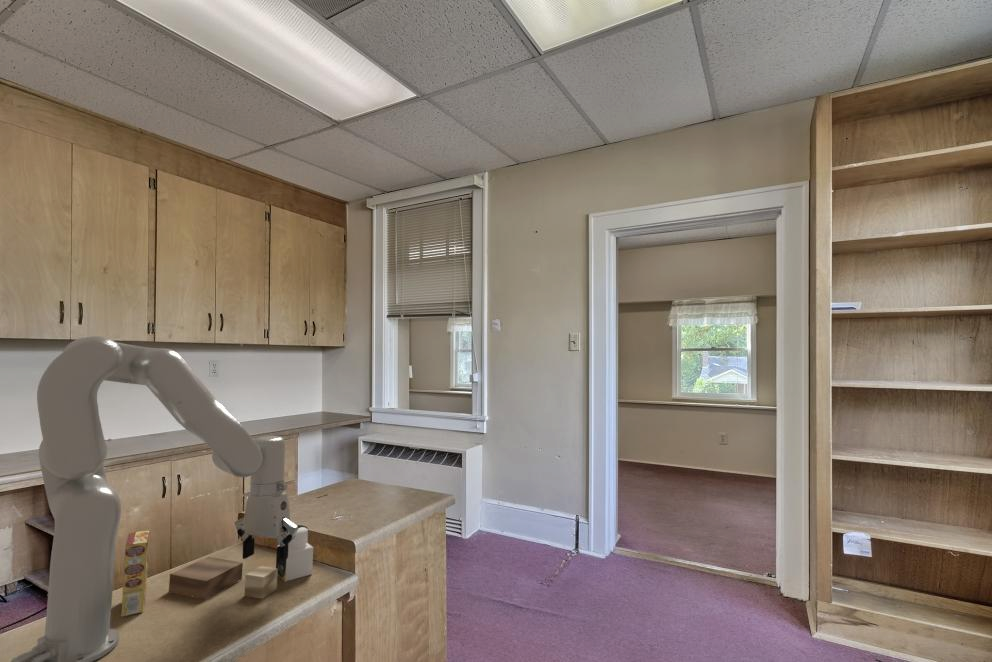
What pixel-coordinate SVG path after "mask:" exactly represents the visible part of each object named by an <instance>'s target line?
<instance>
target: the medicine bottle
mask: <svg viewBox="0 0 992 662" xmlns="http://www.w3.org/2000/svg"><path fill="white" fill-rule="evenodd" d="M295 525H296V526H298V531H297V533H296V534H295V537H294V538H293V539H292V540H291V542H290V543H288V558H287V559H286V560H285V561H283V562H282V563H280V564H279V563H277V554H276V558H275V568H277V569H278V573H277V576H278V577H279V578H281V580H282V581H284V582H290V581H293V580H297V579H300V578H304V577H307V576H310V575H312V574H313V562H314V559H313V558H314V546H312V544H309V543H308V539H309V528H308V526H305V525H303V524H295ZM287 534H289V531H288V532H287ZM282 539H283V540H284V538H283V537H282ZM278 546H280V545H279V544H278V545H277V546H276V548H277V547H278Z"/></svg>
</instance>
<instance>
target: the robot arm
mask: <svg viewBox="0 0 992 662" xmlns="http://www.w3.org/2000/svg"><path fill="white" fill-rule="evenodd" d="M104 381H106V382H116V383H122V384H130V385H138V386H139V385H142V386H146V387H147V388H148V389H149V390H150V391H151V393H152V394H153V396H155V397H156V398H157V399H158V401H159V402H160V403H161V404H162V405H163V406H164V408H165V409H166V411H168V412H169V413H170V415H171V416H172V417H173V418H174V420H175V421H176V422H177V423H178V424H179V425H181V427H182V428H183V429H185V430H186V431H187V432H189V433H191V434H192V435H195V436H196V437H198V438H199V439H200V440H201V441H202V442H203V443H205V444H206V445H207V446H208V447H209V448H210V449H211V450H212V451H213V452H212V453H211V454H212V455H211V458H212V463H213V464H214V466H216V467H217V468H218V469H219V470H221V471H223V472H225V473H228V474H230V475H232V476H234V477H237V478H248V477H250V484H249V485H250V486H249V487H250V489H249V494H248V495H247V499H246V501H245V502H246V503H245V510H244V516H243V517H242V518H239V519H237V520H235V521H234V526H235V528H236V530H237V531H236V533H237V535H239V537H240V541H241V542H242V559H243V560H245V559H247V558H250V557H251V556H253V555H254V554H255V540H256V539H255V537H260V538H261V537H262V538H270V539H275V541H276V542H277V544H278V545H280V546H278V545H277V546H278V547H277V546H276V555H277V563H279V564H280V563H282V562H283V561H285V560H286V559H287V558H288V543H290V542H291V540H292V539H293V538H294V537H295V534H296V533H297V531H298V526H296V525H297V524H295V523H294V522H292V521H291V514H290V513H291V512H290V502H289V497H288V493H287V490H288V489H287V488H288V484H285V461H286V458H285V457H286V440H285V439H284V437H282V436H278V435H267V436H260V437H257V438H253V437H252V436H251V435H250V433H249V432H248V431H247V430H246V428H245V427H244V426H243V425H242V424H241V423H240V422H239V421H238V420H237V419H236V418H235V417H234V416H233V415H232V414H231V412H229V411H228V410H227V409H226V407H225V406H223V404H222V403H221V402H219V400H217V398H216V397H215V396H214V395H213V394H212V393H211V391H210V390H209V389H208V387H207V386H206V385H205V384H204V383H203V381H202V380H201V379H200V378H199V375H197V374H196V373H195V371H194V370H193V368H192V367H191V366H190V365H189V364H188V363H187V361H186V360H185V359H184V357H182V355H180V354H179V353H178V352H176V351H175V350H173V349H169V348H165V347H164V348H163V347H162V348H160V347H159V348H157V347H156V348H155V347H146V346H140V345H133V344H128V343H122V342H118V341H114V340H112V339H110V338H107V337H104V336H87V337H80V338H76V339H75V340H73V341H72V342H70V343H68V344H67V345H66V346H65V348H64V349H63V351H62V352H61V353H60V354H58V355H57V357H55V358H54V360H52V362H51V363H50V364H49V365H48V367H47V368H46V369H45V371H44V372H43V374H42V376H41V377H40V379H39V382H38V387H37V392H36V402H37V410H38V418H39V425H40V430H41V436H42V440H41V443H40V444H39V447H38V459H39V465H40V469H41V474H42V480H43V483H44V489H45V493H46V499H47V502H48V507H49V509H50V513H51V514H52V518H53V519H54V532H53V540H52V549H51V555H50V563H49V580H48V581H49V582H48V591H47V594H48V595H47V603H46V604H47V605H46V618H45V629H44V635H43V636H41V637H39V638H38V639H37V643H36V645H35V646H33V647H32V649H31V650H29V651H27V652H24V653H21V654H19V655H18V656H16V657H14V658H12V659H11V661H10V662H94V661H96V660H98V659H100V658H102V657H104V656H105V655H107V654H108V653H109V652H111V651H112V650H114V648H116V647H117V645H118V643H119V641H120V633H119V632H118V631H117V630H116V629H114V628H111V616H112V614H111V613H112V602H113V588H114V577H115V576H114V575H115V560H116V558H115V557H116V547H117V539H118V538H117V537H118V532H119V526H120V521H121V517H122V516H121V515H122V504H121V503H122V502H121V499H120V496H119V494H118V492H117V491H116V490H115V489H114V487H112V486H111V484H109V483H108V480H107V479H108V478H107V475H106V470H105V469H106V468H105V465H104V463H105V462H106V460H107V456H108V455H107V454H108V446H107V443H106V440H105V436H104V432H103V427H102V423H101V417H100V411H99V404H98V392H99V389H100V386H101V385H102V383H103V382H104ZM288 531H289V534H287V532H288ZM283 538H284V540H283Z"/></svg>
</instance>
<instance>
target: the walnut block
mask: <svg viewBox="0 0 992 662" xmlns="http://www.w3.org/2000/svg"><path fill="white" fill-rule="evenodd" d="M243 564H244V562H240V561H235V560H229V559H225V558H224V559H223V558H219V557H214V556H213V557H212V556H207V557H205V558H202V559H200V560H198V561H196V562H194V563H192V564H189V565H187V566H185V567H182V568H181V569H178V570H176V571H174V572H172V573H170V574H169V581H168V582H169V583H168V593H171V592H172V594H176V593H178V594H177V595H181V594H183V595H182V596H186V595H187V596H186V597H191V596H193V597H192V598H196V597H197V599H201V598H203V599H202V600H207V599H209V598H210V596H211V597H212V596H214V595H216V594H218V593H220V592H222V591H223V590H225V589H227V588H229V587H230V585H231V584H232V585H234V584H236V583H238V582H240V581H242V580H243V567H244V566H243ZM241 579H242V580H241ZM239 580H240V581H239ZM237 581H238V582H237ZM235 582H236V583H235ZM232 585H231V586H232ZM228 586H229V587H228ZM226 587H227V588H226ZM224 588H225V589H224ZM219 591H220V592H219ZM217 592H218V593H217ZM215 593H216V594H215ZM213 594H214V595H213ZM208 597H209V598H208ZM206 598H207V599H206Z"/></svg>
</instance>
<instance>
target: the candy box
mask: <svg viewBox="0 0 992 662" xmlns="http://www.w3.org/2000/svg"><path fill="white" fill-rule="evenodd" d="M149 543H150V530H142V531H141V530H140V531H134V532H130V533H128V536H127V540H126V544H125V547H124V561H123V562H124V563H123V565H124V566H123V579H122V598H121V599H122V600H121V613H120V617H128V616H131V615H136V614H140V613H141V614H142V613H144V610H145V606H146V605H145V603H146V597H147V595H146V594H147V585H148V584H147V581H148V566H149V565H148V563H149V549H150V548H149V546H150V545H149Z"/></svg>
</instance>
